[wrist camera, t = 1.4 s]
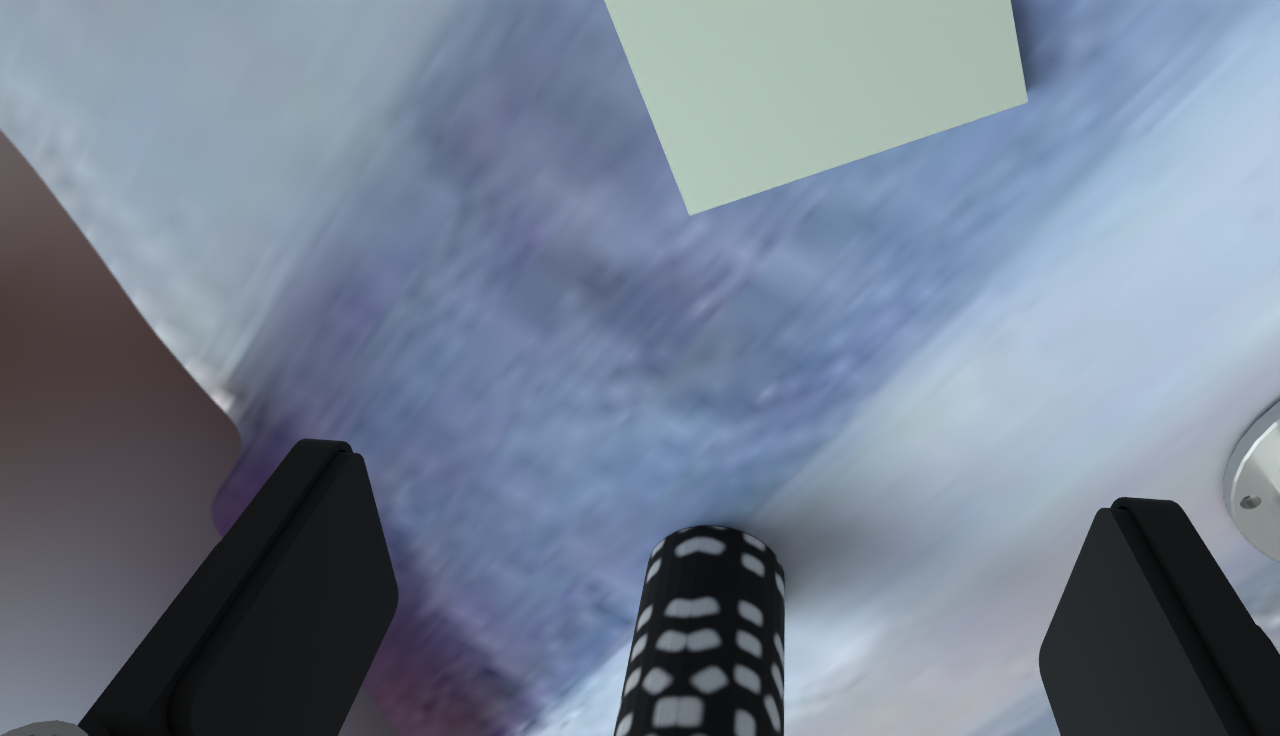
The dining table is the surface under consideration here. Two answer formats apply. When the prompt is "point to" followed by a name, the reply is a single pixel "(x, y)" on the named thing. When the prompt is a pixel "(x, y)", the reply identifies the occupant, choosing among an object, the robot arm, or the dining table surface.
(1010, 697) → the dining table surface
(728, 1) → the sage board
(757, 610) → the spotted tube
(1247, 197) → the dining table surface
